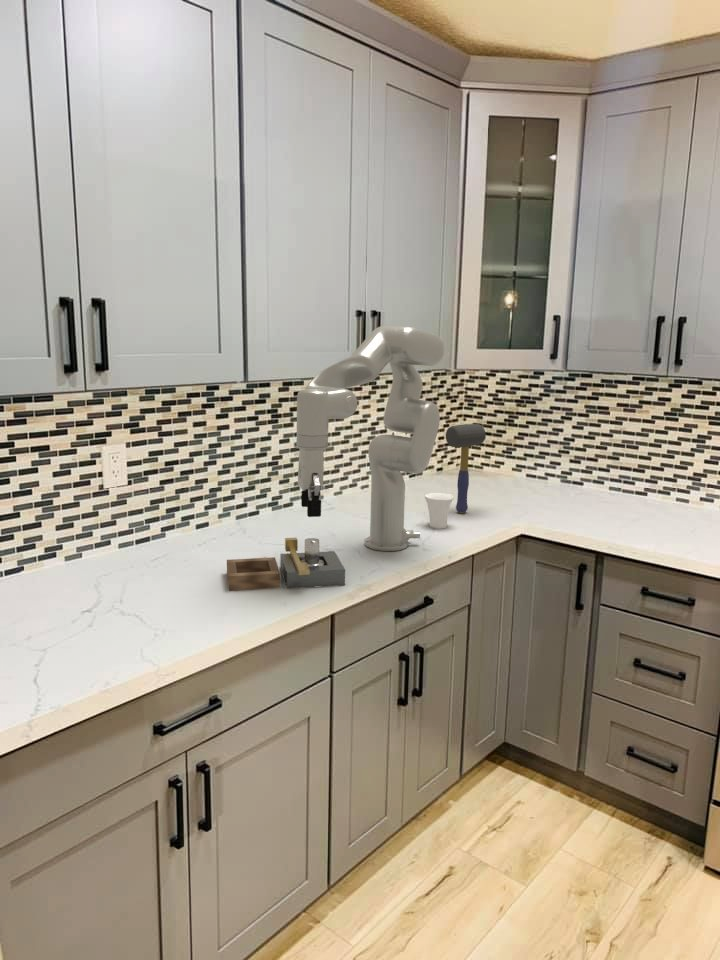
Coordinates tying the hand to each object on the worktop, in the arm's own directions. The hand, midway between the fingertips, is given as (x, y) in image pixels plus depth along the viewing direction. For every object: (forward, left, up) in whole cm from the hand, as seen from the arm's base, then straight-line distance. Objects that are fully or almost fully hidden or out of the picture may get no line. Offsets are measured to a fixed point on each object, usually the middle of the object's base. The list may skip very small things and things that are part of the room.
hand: (310, 511), depth 173 cm
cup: (-46, -38, -17) cm, 63 cm away
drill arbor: (0, 0, -17) cm, 17 cm away
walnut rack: (+14, 0, -17) cm, 22 cm away
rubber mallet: (-59, -52, -17) cm, 81 cm away
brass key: (+3, 0, -13) cm, 13 cm away
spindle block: (0, 0, -17) cm, 17 cm away
